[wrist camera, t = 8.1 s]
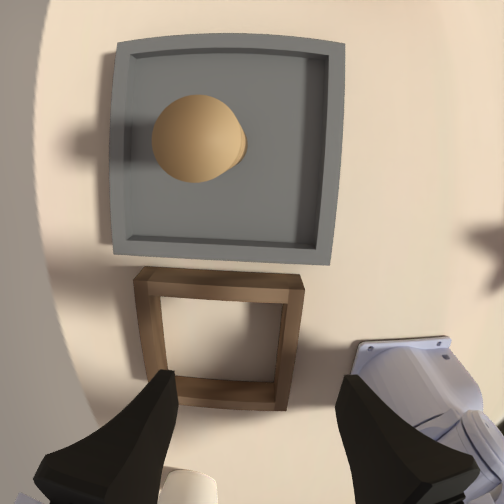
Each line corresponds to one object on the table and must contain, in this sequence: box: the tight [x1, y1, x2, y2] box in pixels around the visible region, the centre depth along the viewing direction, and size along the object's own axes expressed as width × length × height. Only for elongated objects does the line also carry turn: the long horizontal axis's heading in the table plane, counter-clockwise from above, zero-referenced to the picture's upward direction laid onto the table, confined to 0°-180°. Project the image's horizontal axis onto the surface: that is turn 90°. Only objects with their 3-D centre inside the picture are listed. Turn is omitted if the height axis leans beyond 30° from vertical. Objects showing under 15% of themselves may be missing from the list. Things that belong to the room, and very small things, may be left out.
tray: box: [109, 33, 345, 266], centre depth 18 cm, size 14×14×2 cm
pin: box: [152, 95, 248, 183], centre depth 14 cm, size 3×3×9 cm
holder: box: [133, 266, 305, 411], centre depth 22 cm, size 11×11×2 cm
